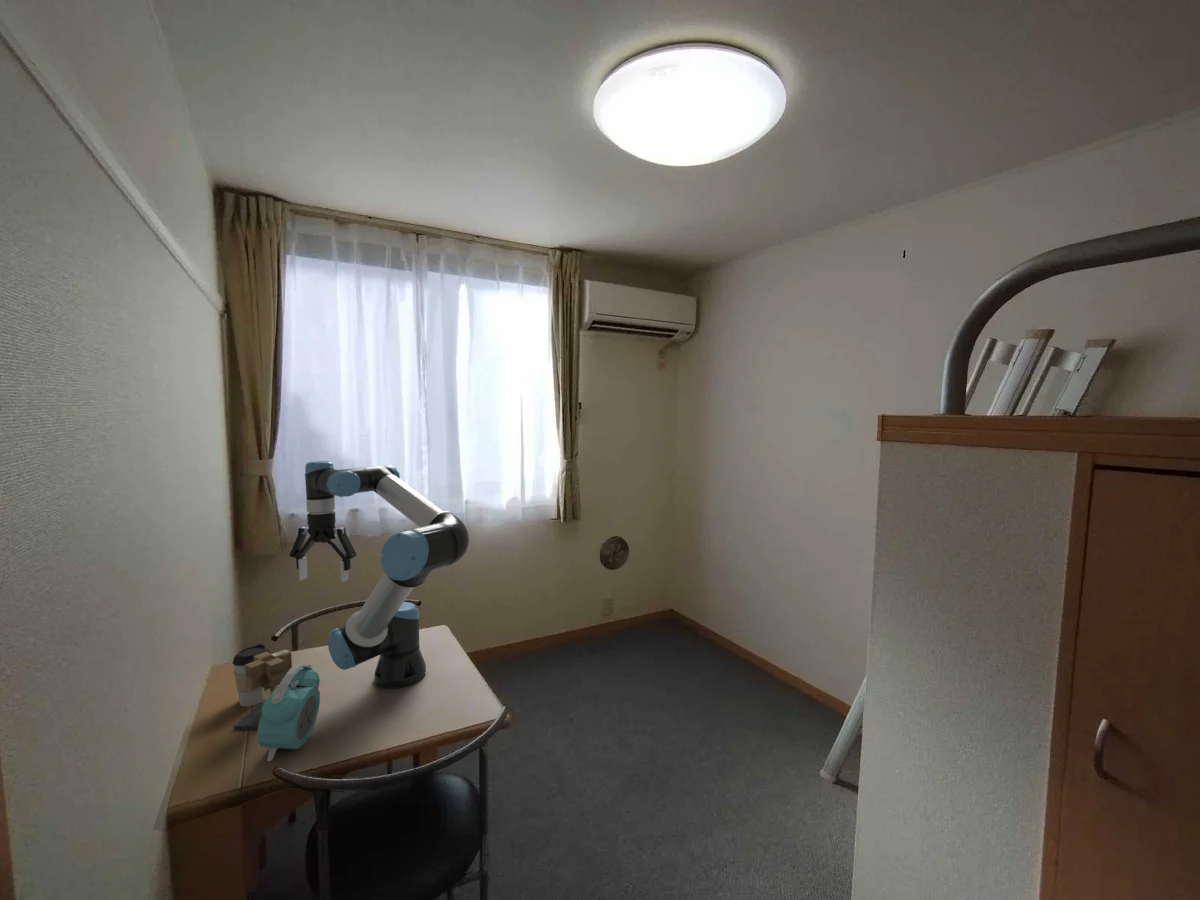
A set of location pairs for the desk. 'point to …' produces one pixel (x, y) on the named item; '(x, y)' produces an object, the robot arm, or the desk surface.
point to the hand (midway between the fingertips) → (324, 579)
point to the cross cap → (268, 669)
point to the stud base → (254, 713)
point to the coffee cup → (239, 661)
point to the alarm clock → (290, 711)
